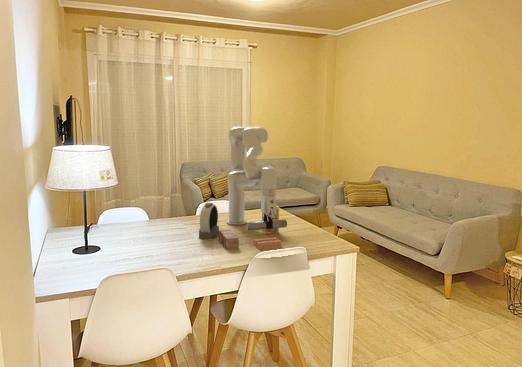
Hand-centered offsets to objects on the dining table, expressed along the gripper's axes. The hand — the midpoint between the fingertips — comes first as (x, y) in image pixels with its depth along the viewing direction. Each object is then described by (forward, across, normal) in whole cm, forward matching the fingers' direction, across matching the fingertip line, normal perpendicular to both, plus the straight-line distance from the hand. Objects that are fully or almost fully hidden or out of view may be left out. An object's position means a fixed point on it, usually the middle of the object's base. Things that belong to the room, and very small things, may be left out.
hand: (267, 227), depth 201 cm
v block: (+10, 0, 0) cm, 10 cm away
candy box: (+10, +21, -10) cm, 25 cm away
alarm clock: (+10, +26, +24) cm, 37 cm away
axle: (-1, 0, 0) cm, 1 cm away
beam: (+10, +9, +18) cm, 22 cm away
